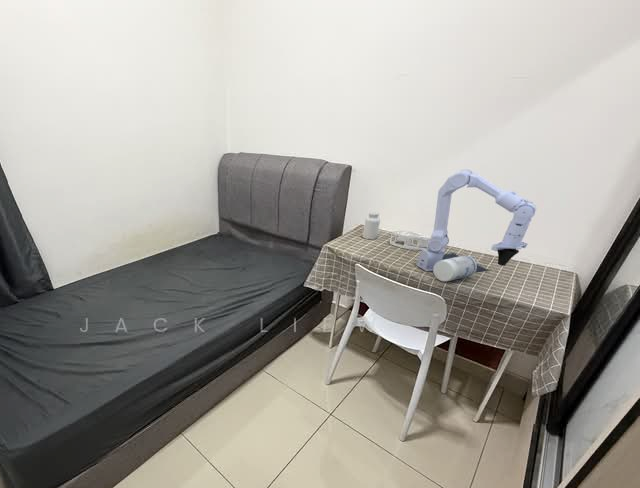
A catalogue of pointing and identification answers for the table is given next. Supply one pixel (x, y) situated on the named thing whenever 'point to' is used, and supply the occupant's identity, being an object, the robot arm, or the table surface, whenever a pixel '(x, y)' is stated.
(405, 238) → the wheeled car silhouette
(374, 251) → the table surface
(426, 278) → the table surface
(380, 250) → the table surface
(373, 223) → the pill bottle
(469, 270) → the supplement tub
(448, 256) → the desk mat
